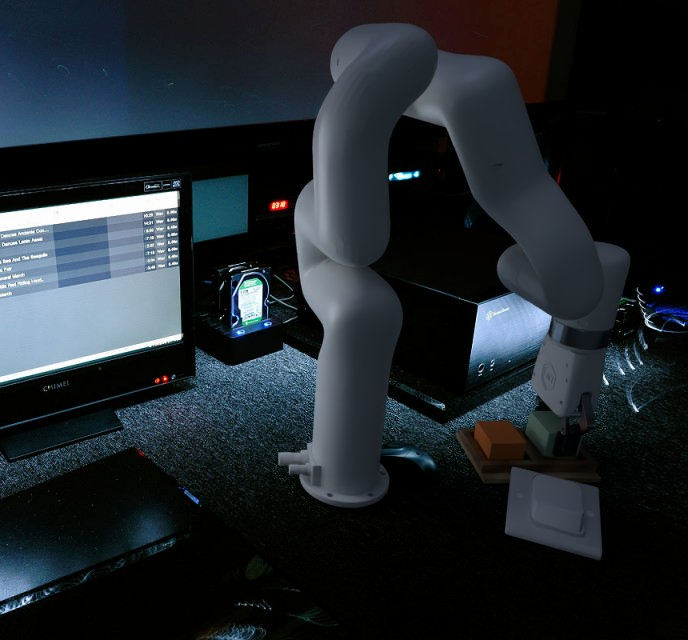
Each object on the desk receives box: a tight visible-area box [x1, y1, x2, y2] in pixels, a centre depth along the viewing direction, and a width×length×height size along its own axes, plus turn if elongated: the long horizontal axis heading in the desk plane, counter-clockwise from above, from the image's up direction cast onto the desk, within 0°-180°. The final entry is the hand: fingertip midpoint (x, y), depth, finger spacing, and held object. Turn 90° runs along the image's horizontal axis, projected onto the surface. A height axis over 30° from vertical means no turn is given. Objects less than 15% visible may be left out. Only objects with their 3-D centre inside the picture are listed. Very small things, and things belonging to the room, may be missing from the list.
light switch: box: [504, 467, 603, 561], centre depth 87 cm, size 11×4×13 cm
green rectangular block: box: [525, 410, 584, 456], centre depth 98 cm, size 5×6×4 cm
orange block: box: [474, 420, 527, 461], centre depth 99 cm, size 5×6×4 cm
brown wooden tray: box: [455, 427, 601, 484], centre depth 99 cm, size 16×12×2 cm
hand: (552, 441), depth 99 cm, fingers closed on green rectangular block, 6 cm apart
